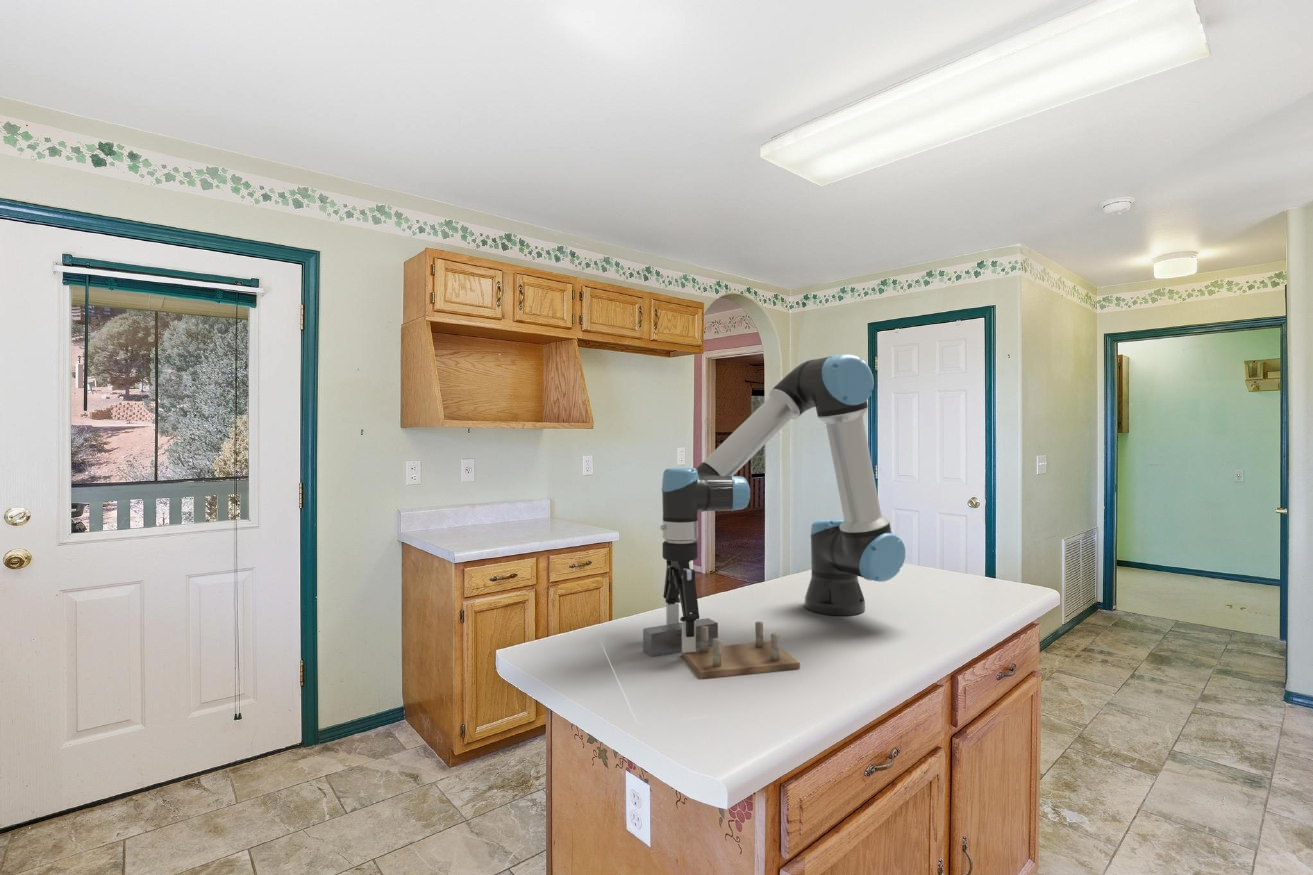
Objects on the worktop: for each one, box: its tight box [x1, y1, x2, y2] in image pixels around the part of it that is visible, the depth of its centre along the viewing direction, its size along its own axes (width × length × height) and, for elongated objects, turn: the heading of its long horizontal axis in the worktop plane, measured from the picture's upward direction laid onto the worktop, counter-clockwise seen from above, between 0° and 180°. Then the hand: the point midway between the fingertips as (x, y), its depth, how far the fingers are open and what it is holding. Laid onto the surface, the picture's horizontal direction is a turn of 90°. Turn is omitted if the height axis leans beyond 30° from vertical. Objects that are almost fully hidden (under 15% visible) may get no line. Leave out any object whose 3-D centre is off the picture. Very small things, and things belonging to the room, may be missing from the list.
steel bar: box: [642, 617, 719, 658], centre depth 137 cm, size 16×4×5 cm, turn 117°
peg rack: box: [681, 621, 801, 680], centre depth 128 cm, size 20×13×6 cm, turn 103°
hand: (680, 642), depth 137 cm, fingers open, 12 cm apart
